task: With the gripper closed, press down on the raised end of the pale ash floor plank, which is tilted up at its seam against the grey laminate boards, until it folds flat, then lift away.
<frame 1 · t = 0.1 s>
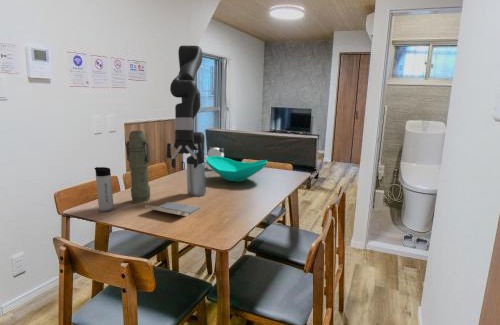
hand: (184, 168, 138), 22 cm above the table, tool pointing down, fingers open, 8 cm apart
table top decor: (236, 180, 206), on the table
olive green canister: (141, 201, 166), on the table
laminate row: (179, 209, 153), on the table
panda figurine: (215, 168, 239), on the table
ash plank: (166, 210, 146), point 2 cm above the table, hinge at 25.0°
travel mug: (106, 210, 153), on the table
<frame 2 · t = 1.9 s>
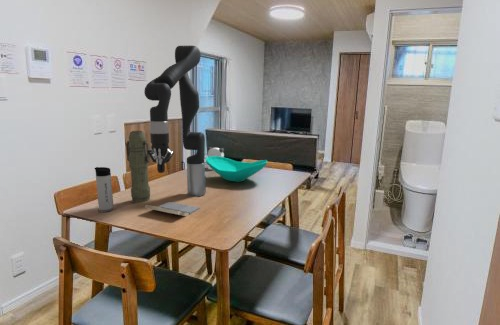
hand: (161, 172, 142), 20 cm above the table, tool pointing down, fingers closed
nothing on the table moved.
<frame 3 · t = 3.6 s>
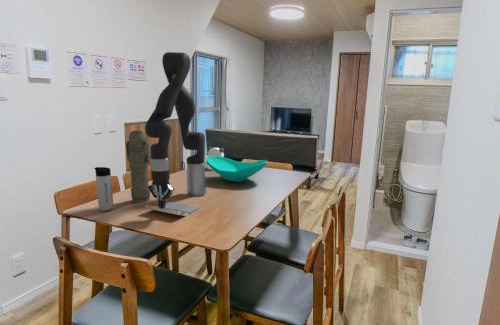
hand: (161, 207, 142), 5 cm above the table, tool pointing down, fingers closed
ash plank: (166, 210, 146), point 2 cm above the table, hinge at 24.4°, touching gripper
everything else where it was.
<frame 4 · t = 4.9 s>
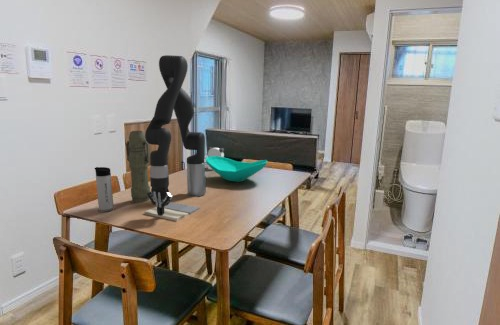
hand: (160, 214, 142), 2 cm above the table, tool pointing down, fingers closed
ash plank: (166, 214, 146), point 1 cm above the table, hinge at 2.7°, touching gripper
everything else where it was.
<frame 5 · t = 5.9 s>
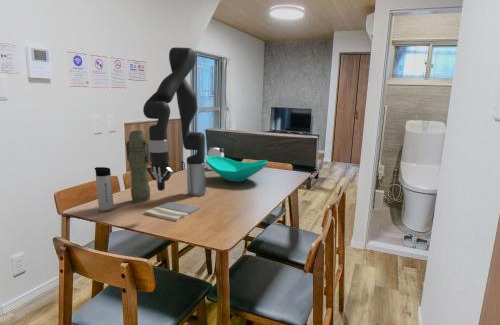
hand: (161, 190, 141), 12 cm above the table, tool pointing down, fingers closed
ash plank: (166, 214, 146), point 1 cm above the table, hinge at 2.6°
everything else where it was.
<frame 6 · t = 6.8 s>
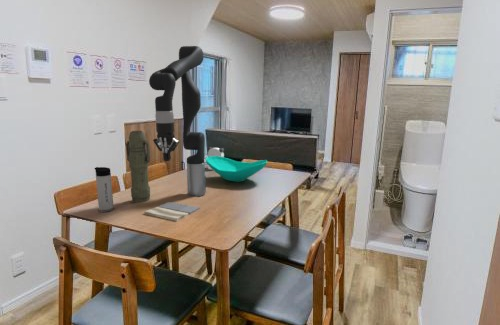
hand: (167, 160, 145), 24 cm above the table, tool pointing down, fingers closed
nothing on the table moved.
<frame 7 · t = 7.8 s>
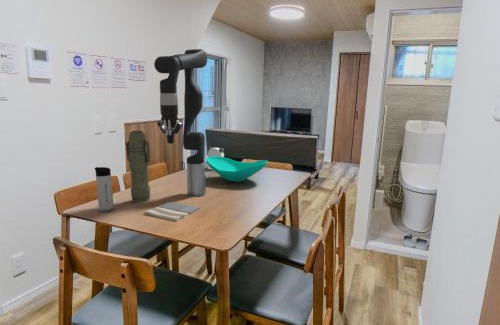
hand: (170, 143, 148), 31 cm above the table, tool pointing down, fingers closed
nothing on the table moved.
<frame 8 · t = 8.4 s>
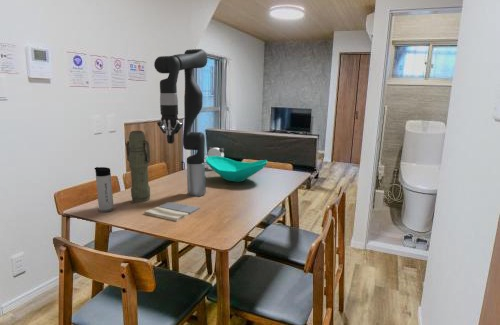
hand: (170, 143, 148), 31 cm above the table, tool pointing down, fingers closed
nothing on the table moved.
at the end: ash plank at +3° (first picture: +25°); the gripper is holding nothing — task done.
